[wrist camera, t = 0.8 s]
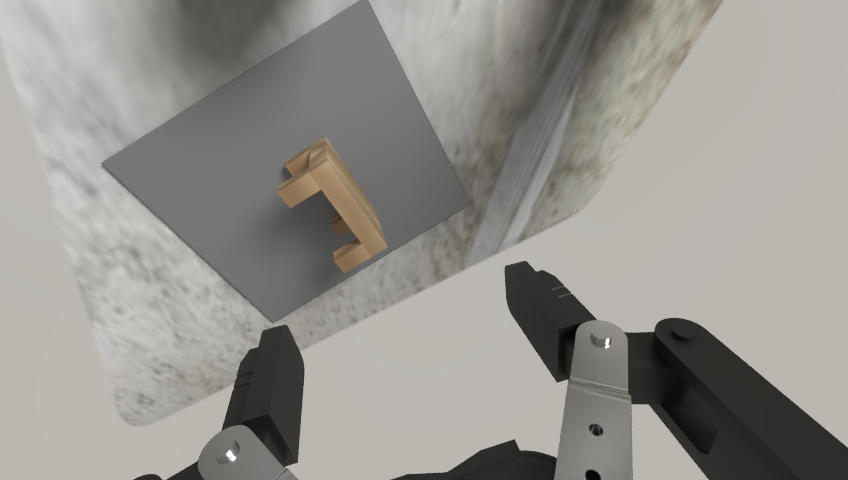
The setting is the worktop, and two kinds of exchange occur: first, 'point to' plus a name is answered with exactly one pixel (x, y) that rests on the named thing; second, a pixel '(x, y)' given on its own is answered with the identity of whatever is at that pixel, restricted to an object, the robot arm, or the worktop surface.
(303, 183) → the wooden bench
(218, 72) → the worktop surface
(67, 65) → the worktop surface
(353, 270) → the mat
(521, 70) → the worktop surface
